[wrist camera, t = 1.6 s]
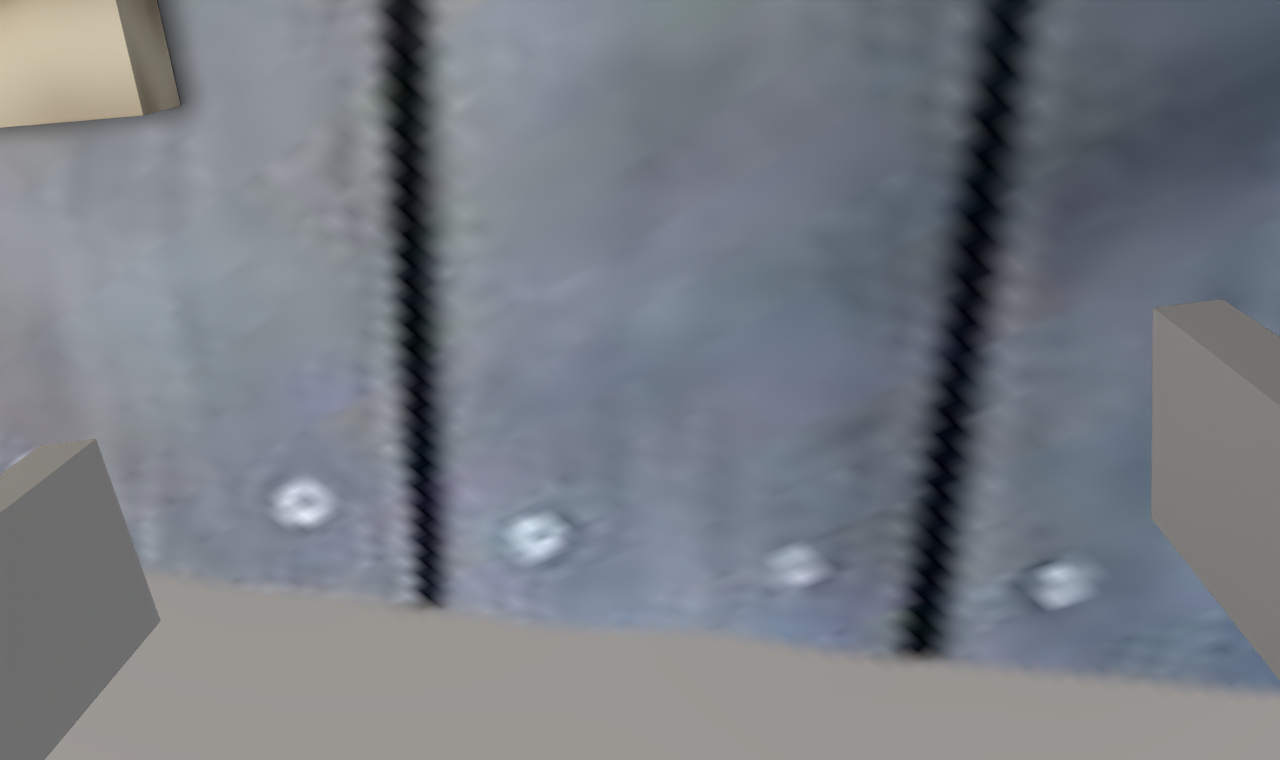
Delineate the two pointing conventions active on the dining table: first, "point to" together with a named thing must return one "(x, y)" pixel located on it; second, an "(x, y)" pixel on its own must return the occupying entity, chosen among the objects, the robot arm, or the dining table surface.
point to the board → (82, 61)
